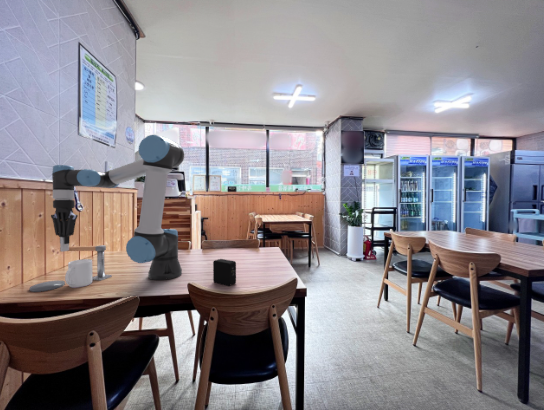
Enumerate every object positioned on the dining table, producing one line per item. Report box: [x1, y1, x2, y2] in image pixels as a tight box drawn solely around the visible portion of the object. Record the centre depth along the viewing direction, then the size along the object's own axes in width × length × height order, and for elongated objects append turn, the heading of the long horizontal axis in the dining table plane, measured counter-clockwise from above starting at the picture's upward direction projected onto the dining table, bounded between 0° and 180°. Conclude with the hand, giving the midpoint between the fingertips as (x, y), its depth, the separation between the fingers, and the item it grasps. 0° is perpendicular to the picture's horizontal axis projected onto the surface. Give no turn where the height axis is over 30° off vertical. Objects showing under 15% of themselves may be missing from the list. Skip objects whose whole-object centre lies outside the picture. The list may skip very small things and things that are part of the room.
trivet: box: [29, 280, 66, 293], centre depth 103 cm, size 11×11×1 cm
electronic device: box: [212, 258, 237, 287], centre depth 108 cm, size 4×10×10 cm, turn 58°
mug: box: [64, 258, 93, 289], centre depth 104 cm, size 12×8×10 cm
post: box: [92, 250, 113, 281], centre depth 115 cm, size 6×6×13 cm
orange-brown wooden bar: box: [68, 245, 107, 252], centre depth 114 cm, size 4×19×2 cm, turn 96°
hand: (64, 250), depth 111 cm, fingers closed
